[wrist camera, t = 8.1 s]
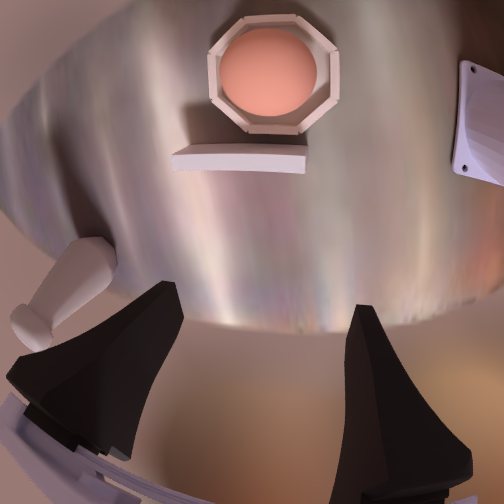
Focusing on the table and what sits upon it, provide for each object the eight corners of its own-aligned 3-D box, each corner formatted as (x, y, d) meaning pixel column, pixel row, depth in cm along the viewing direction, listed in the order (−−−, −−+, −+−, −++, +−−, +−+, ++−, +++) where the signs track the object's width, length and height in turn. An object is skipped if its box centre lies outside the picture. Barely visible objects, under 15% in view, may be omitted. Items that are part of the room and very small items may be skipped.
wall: (307, 145, 17) (305, 156, 14) (307, 160, 17) (305, 173, 15) (190, 144, 18) (170, 155, 16) (192, 158, 19) (172, 170, 16)
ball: (314, 38, 12) (317, 19, 8) (315, 114, 15) (318, 123, 11) (231, 39, 13) (203, 24, 9) (234, 112, 16) (208, 122, 12)
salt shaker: (76, 228, 26) (-8, 305, 15) (112, 226, 24) (17, 319, 14) (94, 272, 29) (25, 353, 18) (131, 276, 27) (58, 372, 17)
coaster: (336, 21, 12) (337, 16, 11) (336, 134, 16) (337, 137, 15) (214, 25, 13) (206, 21, 12) (219, 130, 17) (212, 134, 16)
